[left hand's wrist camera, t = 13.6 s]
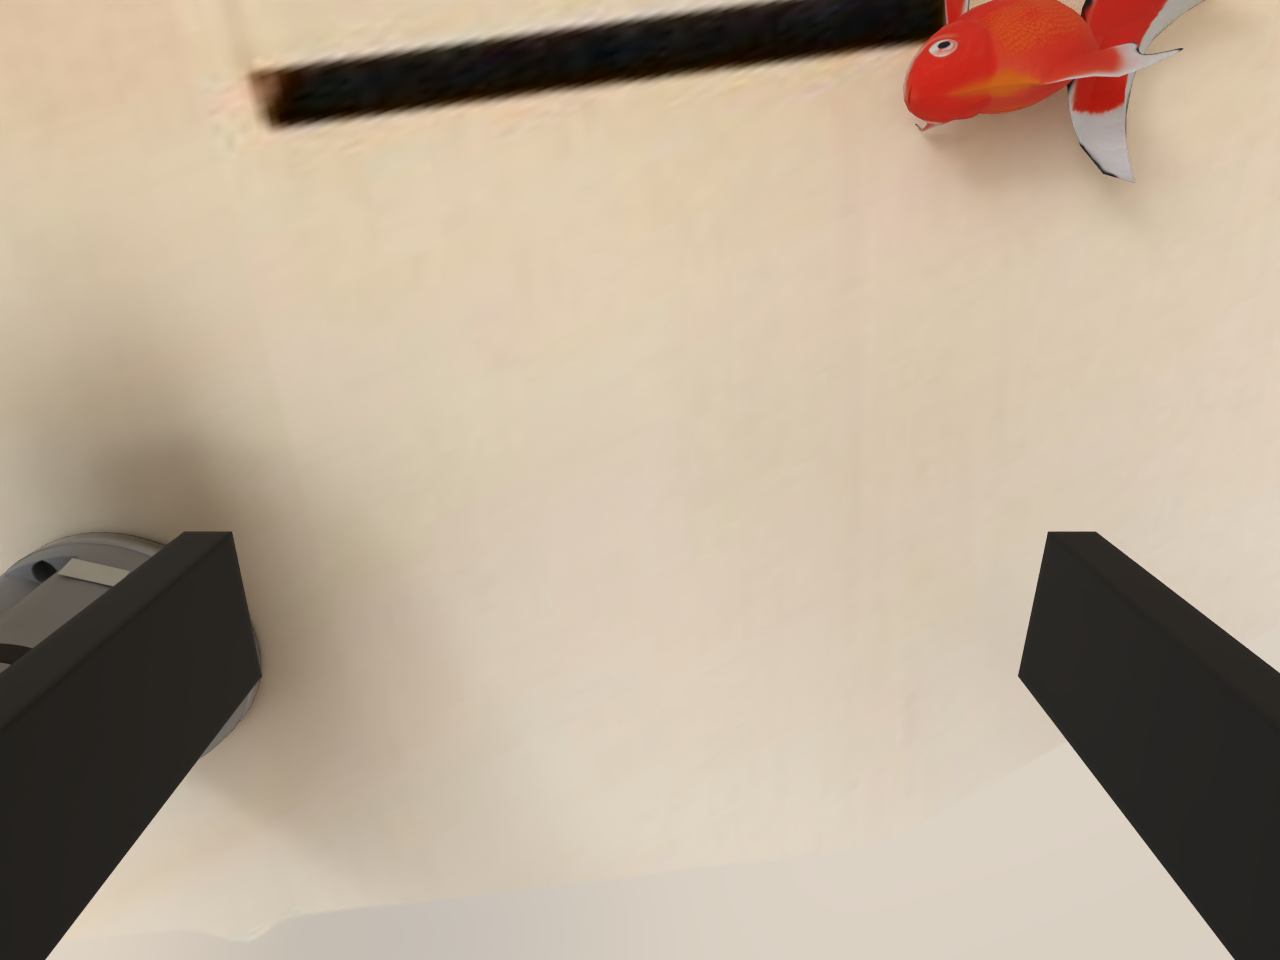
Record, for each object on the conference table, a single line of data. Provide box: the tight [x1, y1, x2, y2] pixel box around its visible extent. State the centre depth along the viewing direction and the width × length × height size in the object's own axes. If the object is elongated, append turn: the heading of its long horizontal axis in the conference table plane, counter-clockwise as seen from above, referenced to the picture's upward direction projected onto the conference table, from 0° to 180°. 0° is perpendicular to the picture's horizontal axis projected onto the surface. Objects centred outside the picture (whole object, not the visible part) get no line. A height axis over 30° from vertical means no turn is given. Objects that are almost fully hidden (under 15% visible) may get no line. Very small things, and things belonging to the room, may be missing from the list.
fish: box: [903, 0, 1204, 183], centre depth 32 cm, size 11×16×10 cm
